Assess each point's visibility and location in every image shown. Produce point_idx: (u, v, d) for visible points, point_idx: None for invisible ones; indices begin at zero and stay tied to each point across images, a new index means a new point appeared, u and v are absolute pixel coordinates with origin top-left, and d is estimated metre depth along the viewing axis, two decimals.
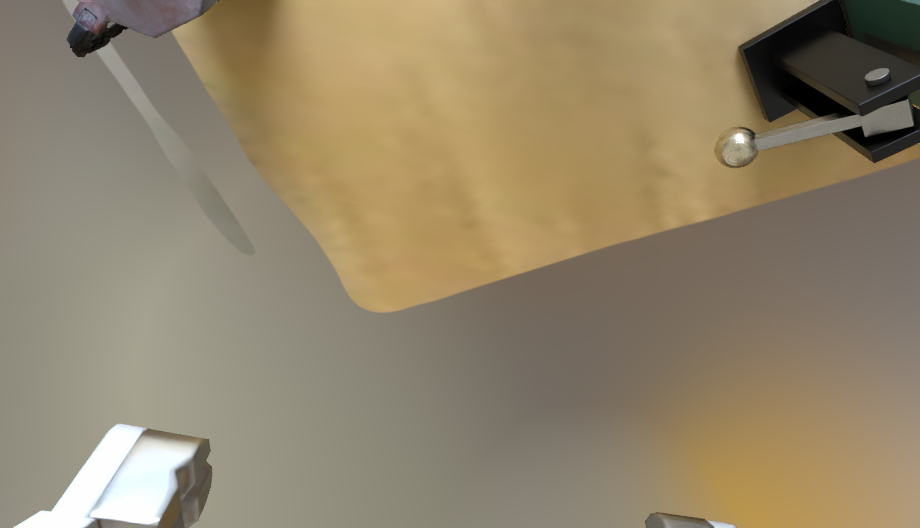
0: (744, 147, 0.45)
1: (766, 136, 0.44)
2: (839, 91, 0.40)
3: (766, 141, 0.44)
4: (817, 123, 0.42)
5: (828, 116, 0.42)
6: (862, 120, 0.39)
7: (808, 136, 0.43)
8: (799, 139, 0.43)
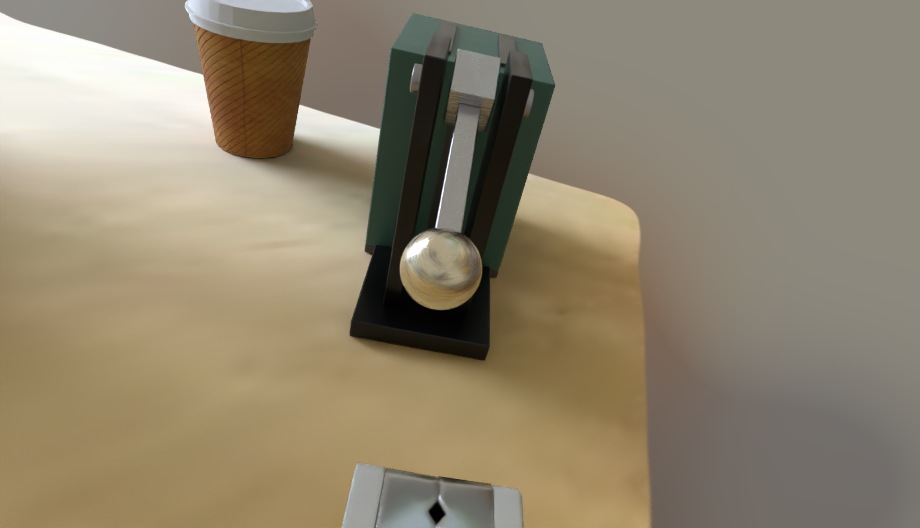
0: (433, 231, 0.22)
1: (438, 212, 0.24)
2: (414, 114, 0.26)
3: (447, 214, 0.23)
4: (450, 146, 0.25)
5: (450, 144, 0.26)
6: (465, 91, 0.26)
7: (467, 163, 0.25)
8: (466, 174, 0.25)
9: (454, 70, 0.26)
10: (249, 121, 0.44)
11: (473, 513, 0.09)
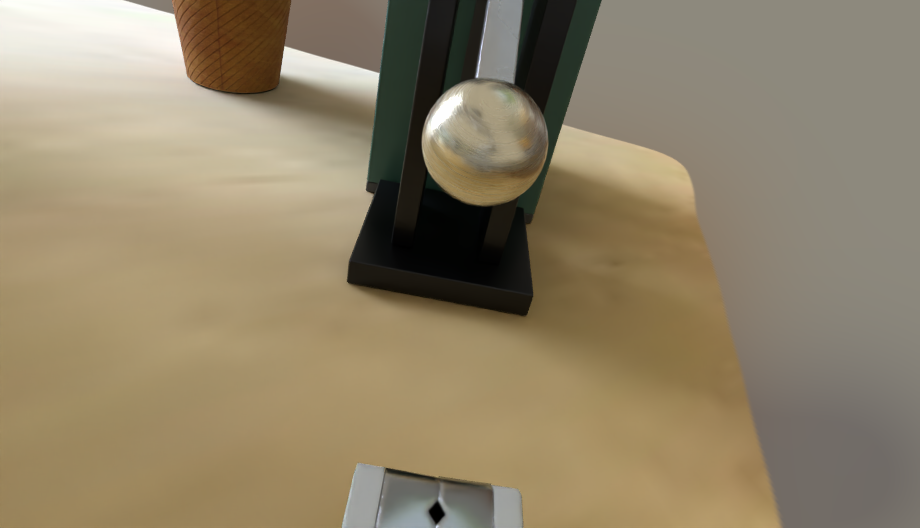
0: (475, 79, 0.14)
1: (477, 65, 0.16)
2: None
3: (491, 66, 0.16)
4: None
5: None
6: None
7: (516, 5, 0.17)
8: (516, 19, 0.17)
9: None
10: (224, 44, 0.36)
11: (473, 513, 0.09)
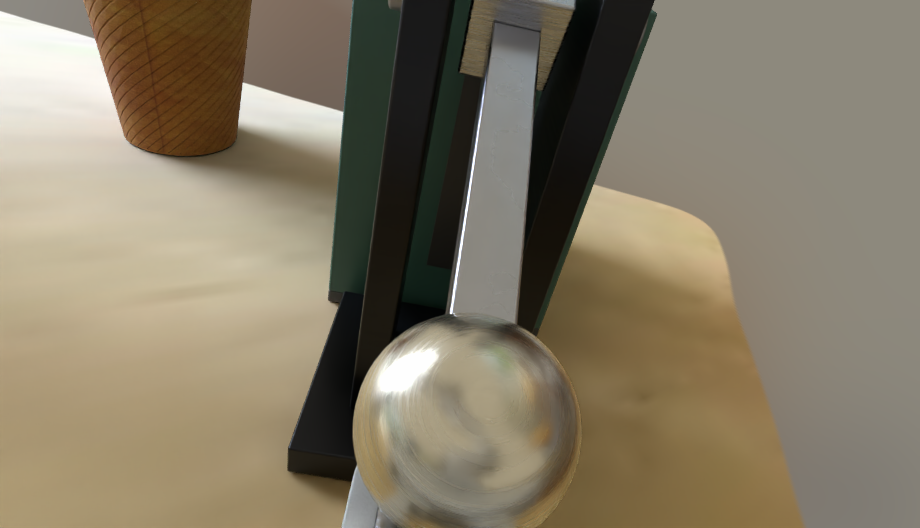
0: (447, 330, 0.08)
1: (455, 267, 0.09)
2: (396, 46, 0.12)
3: (479, 271, 0.09)
4: (479, 110, 0.11)
5: (477, 108, 0.12)
6: None
7: (520, 147, 0.10)
8: (520, 173, 0.10)
9: None
10: (162, 102, 0.30)
11: None
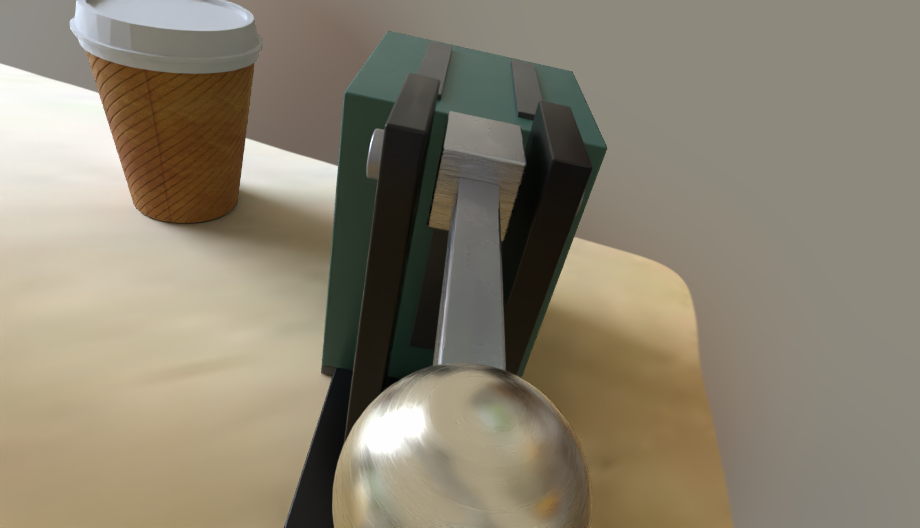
0: (439, 367, 0.07)
1: (440, 341, 0.09)
2: (372, 223, 0.14)
3: (463, 342, 0.09)
4: (451, 231, 0.12)
5: (448, 239, 0.13)
6: (470, 150, 0.14)
7: (491, 255, 0.11)
8: (493, 272, 0.11)
9: (447, 129, 0.15)
10: (169, 178, 0.32)
11: None
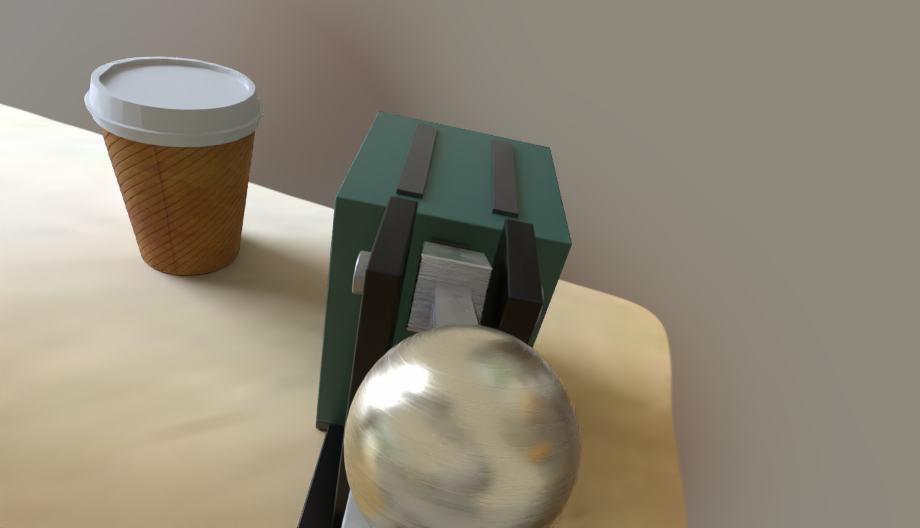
0: None
1: None
2: (356, 339, 0.17)
3: None
4: (433, 305, 0.14)
5: (428, 321, 0.15)
6: (444, 257, 0.16)
7: (469, 316, 0.13)
8: (473, 324, 0.13)
9: (423, 247, 0.18)
10: (176, 236, 0.34)
11: None
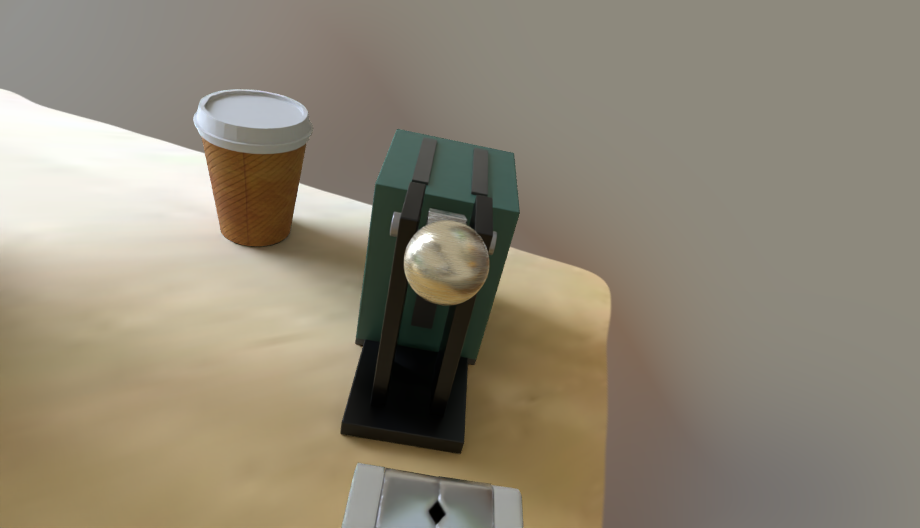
0: None
1: None
2: (393, 259, 0.31)
3: None
4: None
5: None
6: (441, 213, 0.30)
7: None
8: None
9: (429, 210, 0.31)
10: (251, 217, 0.48)
11: (473, 513, 0.09)
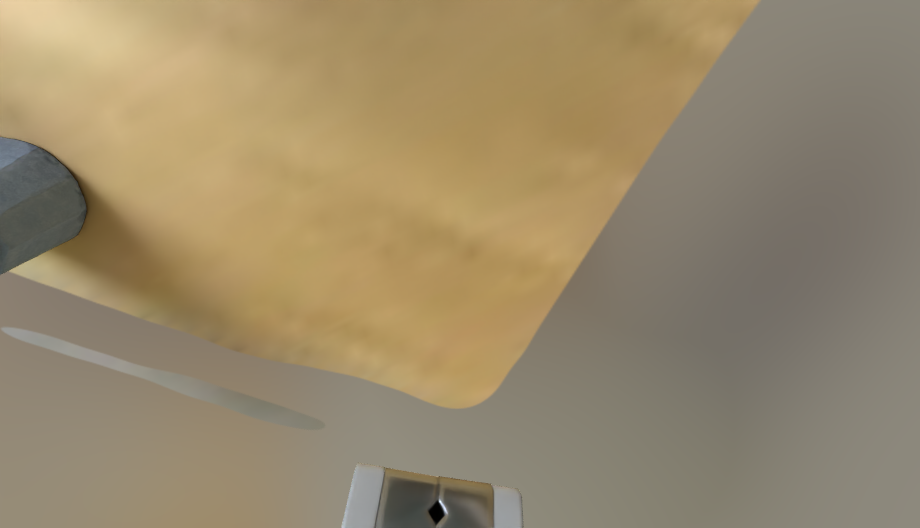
0: None
1: None
2: None
3: None
4: None
5: None
6: None
7: None
8: None
9: None
10: None
11: (473, 513, 0.09)
